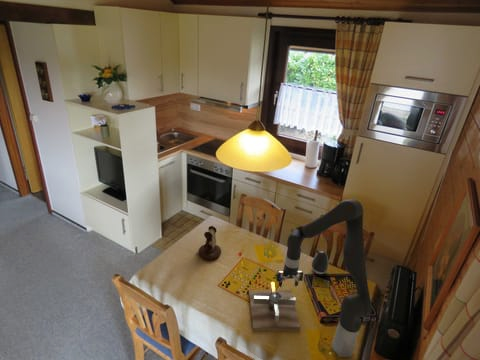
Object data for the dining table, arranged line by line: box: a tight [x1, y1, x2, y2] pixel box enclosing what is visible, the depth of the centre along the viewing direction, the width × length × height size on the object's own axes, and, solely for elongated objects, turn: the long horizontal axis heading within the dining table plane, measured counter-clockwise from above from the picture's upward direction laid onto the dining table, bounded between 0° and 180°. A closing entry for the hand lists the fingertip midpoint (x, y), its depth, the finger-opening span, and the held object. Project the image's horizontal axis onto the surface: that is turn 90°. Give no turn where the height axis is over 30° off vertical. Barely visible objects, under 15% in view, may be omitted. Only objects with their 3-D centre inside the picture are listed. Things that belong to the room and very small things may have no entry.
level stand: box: [248, 289, 302, 331], centre depth 164 cm, size 24×24×2 cm
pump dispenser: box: [311, 249, 330, 275], centre depth 190 cm, size 10×10×15 cm
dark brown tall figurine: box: [198, 225, 222, 261], centre depth 197 cm, size 15×15×20 cm
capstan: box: [253, 281, 297, 321], centre depth 161 cm, size 22×22×8 cm
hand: (287, 285), depth 168 cm, fingers open, 8 cm apart
